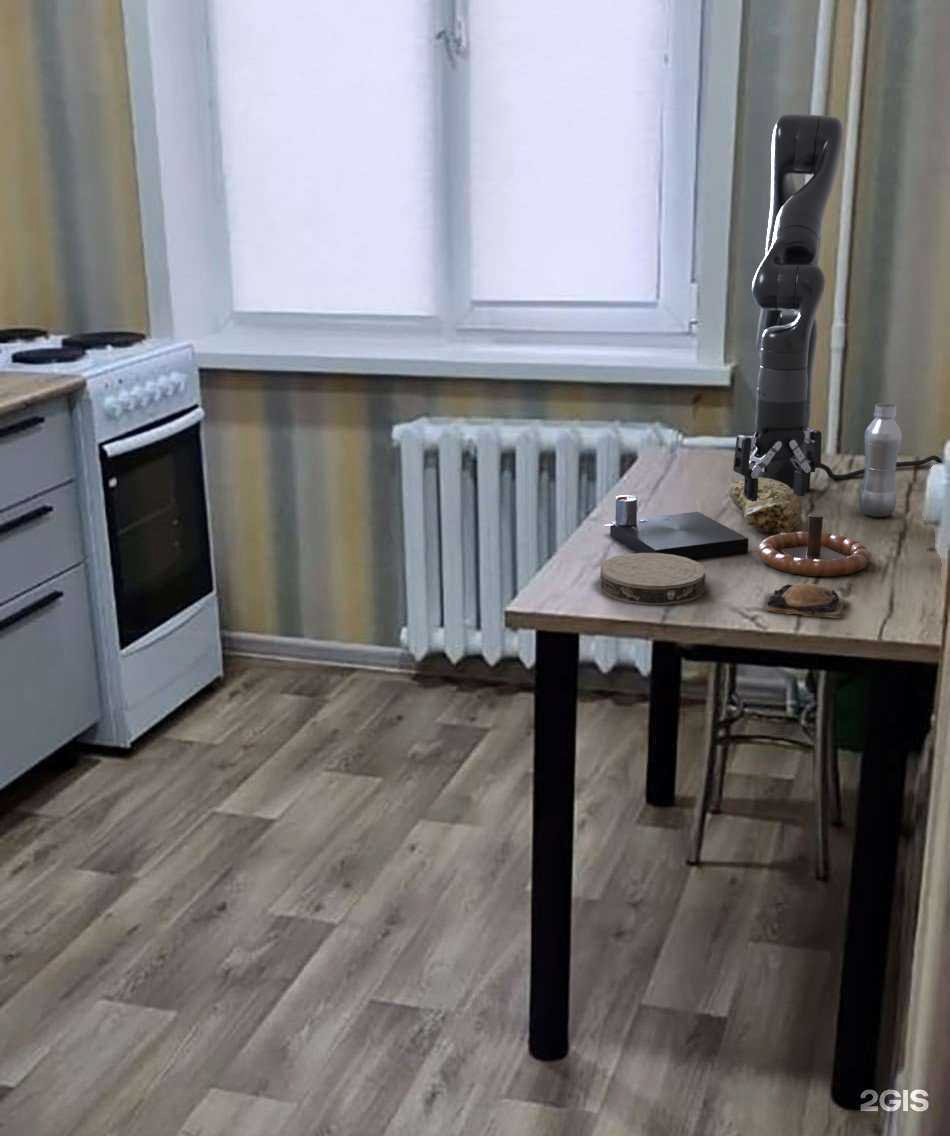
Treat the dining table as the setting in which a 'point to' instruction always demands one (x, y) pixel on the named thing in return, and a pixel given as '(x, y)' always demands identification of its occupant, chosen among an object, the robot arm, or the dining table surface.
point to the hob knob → (626, 510)
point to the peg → (813, 543)
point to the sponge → (769, 506)
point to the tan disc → (652, 578)
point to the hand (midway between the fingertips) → (775, 497)
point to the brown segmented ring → (809, 566)
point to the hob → (681, 536)
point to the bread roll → (806, 601)
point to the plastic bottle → (880, 462)
